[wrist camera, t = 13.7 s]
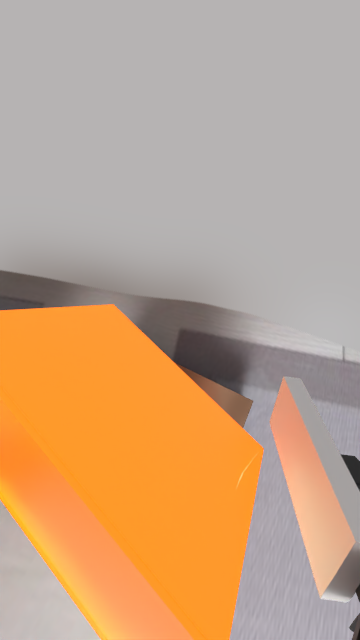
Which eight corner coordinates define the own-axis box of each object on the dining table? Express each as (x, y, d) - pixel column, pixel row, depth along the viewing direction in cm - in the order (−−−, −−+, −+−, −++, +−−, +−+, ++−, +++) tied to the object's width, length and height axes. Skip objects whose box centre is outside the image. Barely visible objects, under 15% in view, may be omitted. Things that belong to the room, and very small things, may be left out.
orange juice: (147, 516, 22) (9, 1030, 3) (75, 431, 24) (-267, 445, 5) (213, 437, 24) (360, 470, 5) (142, 366, 26) (70, 211, 7)
